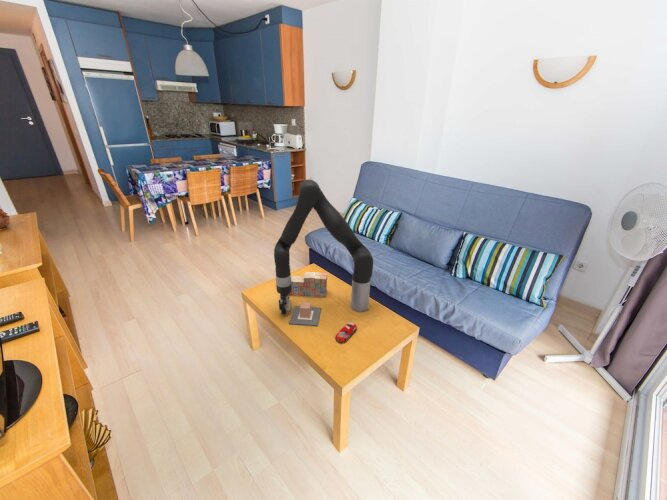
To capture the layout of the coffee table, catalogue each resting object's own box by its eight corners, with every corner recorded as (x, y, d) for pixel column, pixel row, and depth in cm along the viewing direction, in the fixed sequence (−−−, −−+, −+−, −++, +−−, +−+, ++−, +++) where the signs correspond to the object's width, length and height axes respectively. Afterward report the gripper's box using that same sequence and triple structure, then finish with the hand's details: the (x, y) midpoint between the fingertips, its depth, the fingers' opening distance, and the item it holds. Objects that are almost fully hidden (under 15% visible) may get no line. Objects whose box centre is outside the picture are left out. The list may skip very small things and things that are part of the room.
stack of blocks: (287, 295, 167) (286, 276, 162) (290, 289, 173) (289, 270, 167) (325, 297, 166) (326, 278, 160) (326, 291, 171) (327, 272, 166)
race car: (342, 345, 134) (342, 339, 132) (332, 340, 137) (332, 333, 135) (358, 329, 143) (359, 323, 141) (349, 325, 146) (349, 318, 144)
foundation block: (311, 312, 153) (311, 302, 150) (309, 318, 148) (309, 308, 145) (301, 311, 153) (301, 301, 150) (299, 317, 149) (299, 307, 146)
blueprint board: (321, 308, 157) (321, 307, 156) (317, 326, 144) (317, 325, 144) (294, 306, 158) (294, 305, 157) (289, 324, 145) (289, 322, 145)
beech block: (291, 308, 157) (290, 299, 154) (289, 314, 152) (288, 304, 149) (282, 307, 157) (281, 298, 154) (279, 313, 152) (279, 304, 150)
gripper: (288, 291, 140) (289, 319, 147) (294, 275, 153) (295, 301, 160) (272, 290, 140) (274, 317, 148) (279, 274, 153) (281, 300, 161)
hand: (285, 309), depth 154 cm, fingers open, 7 cm apart
